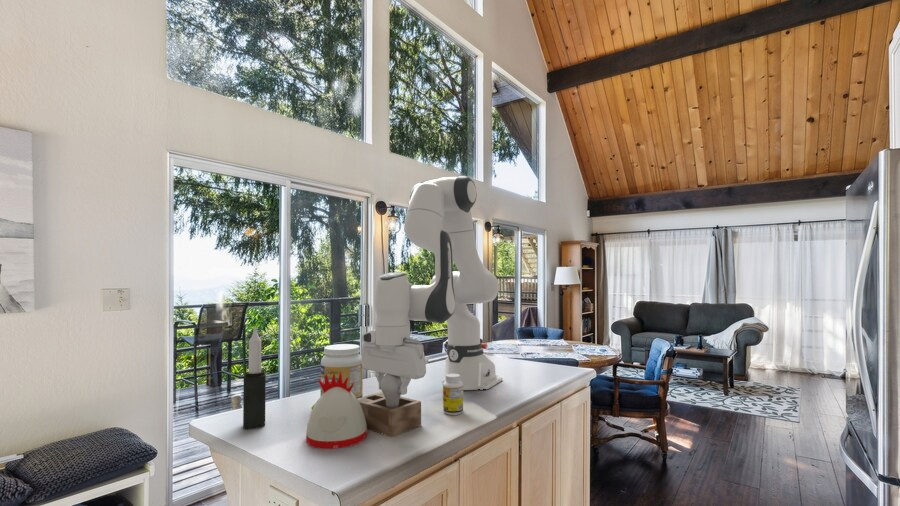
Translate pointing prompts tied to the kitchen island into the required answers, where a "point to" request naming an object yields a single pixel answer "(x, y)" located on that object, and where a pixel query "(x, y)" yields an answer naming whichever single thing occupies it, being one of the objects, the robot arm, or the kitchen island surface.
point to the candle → (254, 387)
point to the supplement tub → (343, 366)
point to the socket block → (390, 414)
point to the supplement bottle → (453, 395)
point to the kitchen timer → (336, 417)
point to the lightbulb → (391, 389)
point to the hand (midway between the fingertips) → (392, 391)
